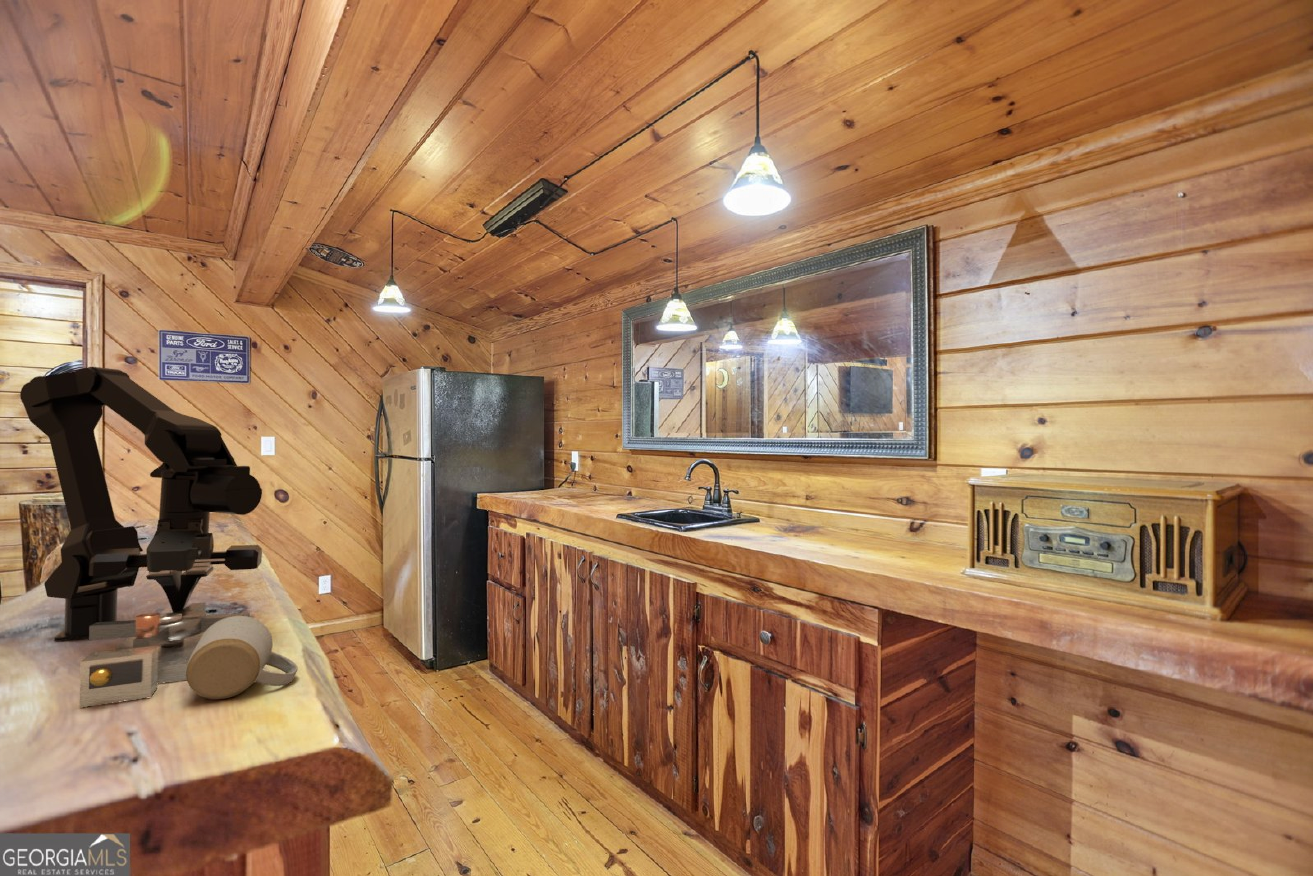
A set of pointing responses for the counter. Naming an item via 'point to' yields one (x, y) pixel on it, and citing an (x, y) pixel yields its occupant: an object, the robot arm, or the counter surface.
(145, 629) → the capstan
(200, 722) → the counter surface
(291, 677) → the ceramic mug
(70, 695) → the counter surface
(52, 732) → the counter surface
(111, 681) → the stand
